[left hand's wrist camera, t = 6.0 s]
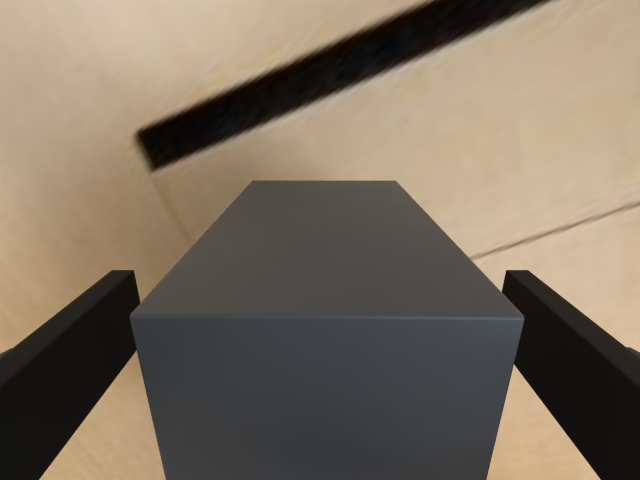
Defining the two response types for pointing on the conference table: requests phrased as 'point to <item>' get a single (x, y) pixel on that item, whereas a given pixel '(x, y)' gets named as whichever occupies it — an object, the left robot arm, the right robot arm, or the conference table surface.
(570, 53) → the conference table surface
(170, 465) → the box
